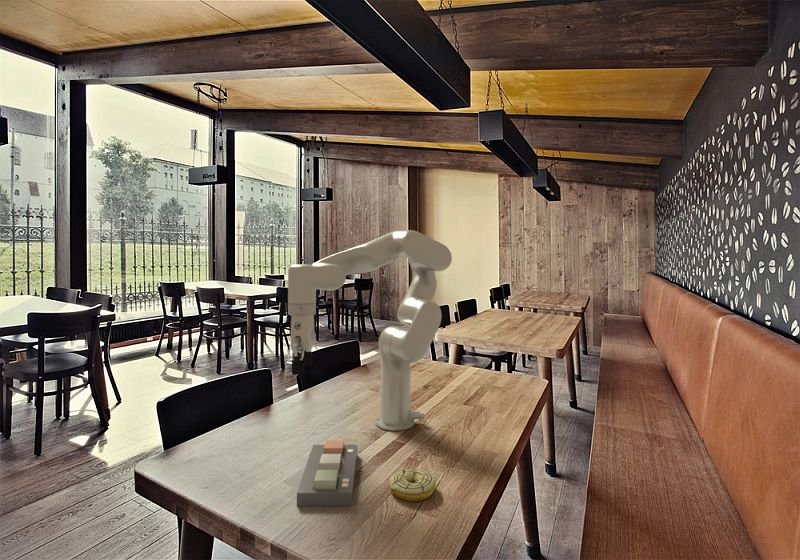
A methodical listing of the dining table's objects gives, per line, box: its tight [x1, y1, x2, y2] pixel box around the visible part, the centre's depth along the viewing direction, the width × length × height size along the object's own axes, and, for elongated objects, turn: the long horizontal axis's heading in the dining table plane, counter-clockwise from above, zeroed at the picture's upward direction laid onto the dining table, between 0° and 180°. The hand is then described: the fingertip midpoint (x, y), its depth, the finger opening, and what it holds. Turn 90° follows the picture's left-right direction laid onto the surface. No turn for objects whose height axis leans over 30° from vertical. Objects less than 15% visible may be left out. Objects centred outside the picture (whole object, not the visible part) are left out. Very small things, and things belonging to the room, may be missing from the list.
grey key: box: [319, 454, 341, 472], centre depth 112 cm, size 5×5×3 cm
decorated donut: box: [389, 468, 436, 502], centre depth 107 cm, size 10×11×4 cm
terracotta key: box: [323, 439, 345, 456], centre depth 119 cm, size 5×5×3 cm
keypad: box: [296, 444, 358, 507], centre depth 112 cm, size 12×24×3 cm, turn 2°
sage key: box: [314, 470, 338, 490], centre depth 104 cm, size 5×5×3 cm
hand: (302, 369), depth 127 cm, fingers open, 9 cm apart
